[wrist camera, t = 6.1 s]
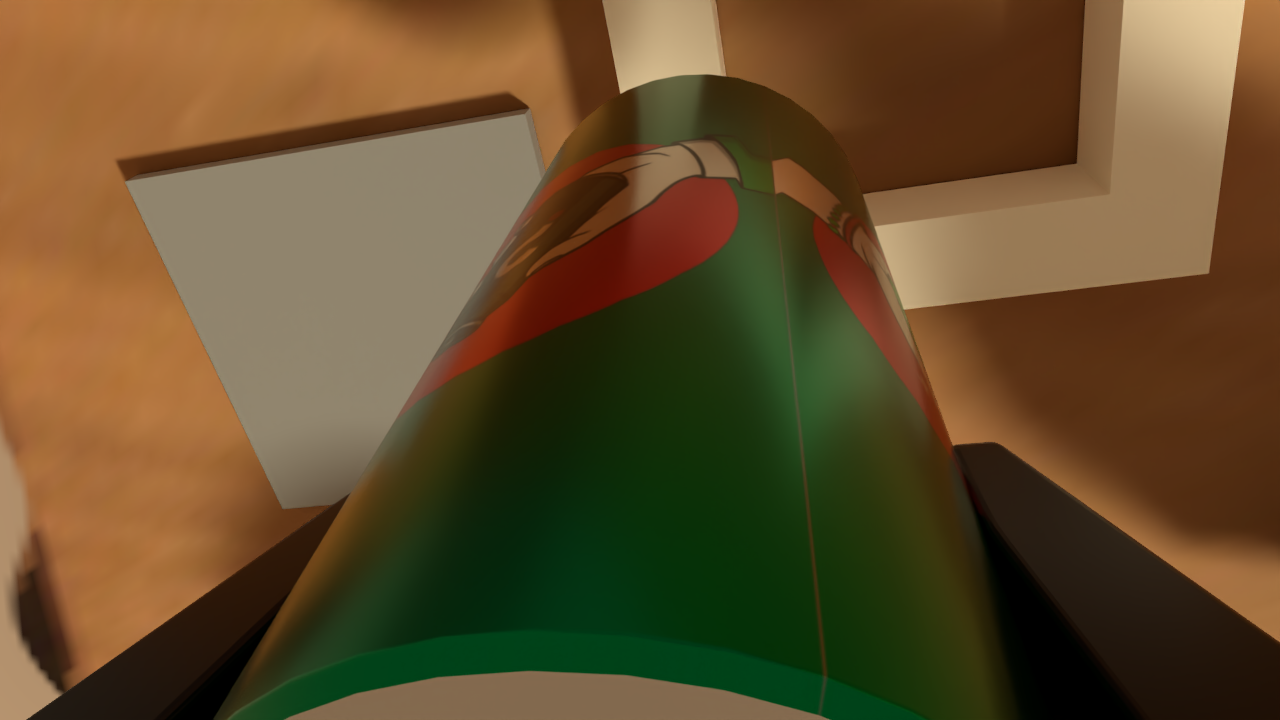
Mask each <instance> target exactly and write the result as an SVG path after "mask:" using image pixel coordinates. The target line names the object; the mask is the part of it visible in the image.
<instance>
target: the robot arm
mask: <svg viewBox="0 0 1280 720" xmlns="http://www.w3.org/2000/svg"><path fill="white" fill-rule="evenodd" d="M953 448H954V450H955V453H956V456H957V459H958V462H959V464H960V467H961V470H962V473H963V476H964V478H965V481H966V484H967V487H968V490H969V492H970V495H971V498H972V501H973V503H974V506H975V509H976V512H977V515H978V517H979V520H980V523H981V526H982V529H983V531H984V534H985V537H986V540H987V542H988V545H989V548H990V551H991V554H992V556H993V559H994V562H995V565H996V568H997V570H998V573H999V576H1000V579H1001V582H1002V584H1003V587H1004V590H1005V593H1006V595H1007V598H1008V601H1009V604H1010V607H1011V609H1012V612H1013V615H1014V618H1015V621H1016V623H1017V626H1018V629H1019V632H1020V634H1021V637H1022V640H1023V643H1024V646H1025V648H1026V651H1027V654H1028V657H1029V660H1030V662H1031V665H1032V668H1033V671H1034V674H1035V676H1036V679H1037V682H1038V685H1039V687H1040V690H1041V693H1042V696H1043V699H1044V701H1045V704H1046V707H1047V710H1048V713H1049V715H1050V718H1051V720H1280V642H1278V641H1277V640H1276V639H1274V638H1273V637H1271V636H1270V635H1269V634H1267V633H1266V632H1264V631H1263V630H1261V629H1260V628H1259V627H1257V626H1256V625H1254V624H1253V623H1252V622H1250V621H1249V620H1247V619H1246V618H1245V617H1243V616H1242V615H1240V614H1239V613H1238V612H1236V611H1235V610H1233V609H1232V608H1230V607H1229V606H1228V605H1226V604H1225V603H1223V602H1222V601H1221V600H1219V599H1218V598H1216V597H1215V596H1214V595H1212V594H1211V593H1209V592H1208V591H1206V590H1205V589H1204V588H1202V587H1201V586H1199V585H1198V584H1197V583H1195V582H1194V581H1192V580H1191V579H1190V578H1188V577H1187V576H1185V575H1184V574H1183V573H1181V572H1180V571H1178V570H1177V569H1175V568H1174V567H1173V566H1171V565H1170V564H1168V563H1167V562H1166V561H1164V560H1163V559H1161V558H1160V557H1159V556H1157V555H1156V554H1154V553H1153V552H1151V551H1150V550H1149V549H1147V548H1146V547H1144V546H1143V545H1142V544H1140V543H1139V542H1137V541H1136V540H1135V539H1133V538H1132V537H1130V536H1129V535H1128V534H1126V533H1125V532H1123V531H1122V530H1120V529H1119V528H1118V527H1116V526H1115V525H1113V524H1112V523H1111V522H1109V521H1108V520H1106V519H1105V518H1104V517H1102V516H1101V515H1099V514H1098V513H1097V512H1095V511H1094V510H1092V509H1091V508H1089V507H1088V506H1087V505H1085V504H1084V503H1082V502H1081V501H1080V500H1078V499H1077V498H1075V497H1074V496H1073V495H1071V494H1070V493H1068V492H1067V491H1065V490H1064V489H1063V488H1061V487H1060V486H1058V485H1057V484H1056V483H1054V482H1053V481H1051V480H1050V479H1049V478H1047V477H1046V476H1044V475H1043V474H1042V473H1040V472H1039V471H1037V470H1036V469H1034V468H1033V467H1032V466H1030V465H1029V464H1027V463H1026V462H1025V461H1023V460H1022V459H1020V458H1019V457H1018V456H1016V455H1015V454H1013V453H1012V452H1010V451H1009V450H1008V449H1006V448H1005V447H1003V446H1002V445H1000V444H998V443H995V442H984V443H971V444H958V445H953ZM349 495H350V493H349V494H347V495H346V496H345V497H343V498H342V499H340V500H339V501H337V502H336V503H335V504H333V505H332V506H330V507H329V508H327V509H326V510H325V511H323V512H322V513H320V514H319V515H318V516H316V517H315V518H313V519H312V520H310V521H309V522H308V523H306V524H305V525H303V526H302V527H300V528H299V529H298V530H296V531H295V532H293V533H292V534H290V535H289V536H288V537H286V538H285V539H283V540H282V541H280V542H279V543H278V544H276V545H275V546H273V547H272V548H270V549H269V550H268V551H266V552H265V553H263V554H262V555H260V556H259V557H258V558H256V559H255V560H253V561H252V562H251V563H249V564H248V565H246V566H245V567H243V568H242V569H241V570H239V571H238V572H236V573H235V574H233V575H232V576H231V577H229V578H228V579H226V580H225V581H223V582H222V583H221V584H219V585H218V586H216V587H215V588H213V589H212V590H211V591H209V592H208V593H206V594H205V595H203V596H202V597H201V598H199V599H198V600H196V601H195V602H194V603H192V604H191V605H189V606H188V607H186V608H185V609H184V610H182V611H181V612H179V613H178V614H176V615H175V616H174V617H172V618H171V619H169V620H168V621H166V622H165V623H164V624H162V625H161V626H159V627H158V628H156V629H155V630H154V631H152V632H151V633H149V634H148V635H146V636H145V637H144V638H142V639H141V640H139V641H138V642H136V643H135V644H134V645H132V646H131V647H129V648H128V649H127V650H125V651H124V652H122V653H121V654H119V655H118V656H117V657H115V658H114V659H112V660H111V661H109V662H108V663H107V664H105V665H104V666H102V667H101V668H99V669H98V670H97V671H95V672H94V673H92V674H91V675H89V676H88V677H87V678H85V679H84V680H82V681H81V682H79V683H78V684H77V685H75V686H74V687H72V688H71V689H69V690H68V691H67V692H65V693H64V694H62V695H61V696H60V697H58V698H57V699H55V700H54V701H52V702H51V703H50V704H48V705H47V706H45V707H44V708H42V709H41V710H40V711H38V712H37V713H35V714H34V715H32V716H31V717H30V718H28V719H27V720H213V718H214V717H215V715H216V714H217V712H218V710H219V709H220V707H221V705H222V704H223V702H224V700H225V699H226V697H227V695H228V694H229V692H230V691H231V689H232V687H233V686H234V684H235V682H236V681H237V679H238V677H239V676H240V674H241V672H242V671H243V669H244V667H245V666H246V664H247V663H248V661H249V659H250V658H251V656H252V654H253V653H254V651H255V649H256V648H257V646H258V644H259V643H260V641H261V640H262V638H263V636H264V635H265V633H266V631H267V630H268V628H269V626H270V625H271V623H272V621H273V620H274V618H275V617H276V615H277V613H278V612H279V610H280V608H281V607H282V605H283V603H284V602H285V600H286V598H287V597H288V595H289V594H290V592H291V590H292V589H293V587H294V585H295V584H296V582H297V580H298V579H299V577H300V575H301V574H302V572H303V571H304V569H305V567H306V566H307V564H308V562H309V561H310V559H311V557H312V556H313V554H314V552H315V551H316V549H317V548H318V546H319V544H320V543H321V541H322V539H323V538H324V536H325V534H326V533H327V531H328V529H329V528H330V526H331V524H332V523H333V521H334V520H335V518H336V516H337V515H338V513H339V511H340V510H341V508H342V506H343V505H344V503H345V501H346V500H347V498H348V497H349Z"/></svg>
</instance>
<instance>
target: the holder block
mask: <svg viewBox="0 0 1280 720" xmlns="http://www.w3.org/2000/svg"><path fill="white" fill-rule="evenodd" d="M602 2H603V7H604V12H605V17H606V22H607V27H608V32H609V38H610V43H611V48H612V53H613V58H614V63H615V68H616V74H617V79H618V84H619V89H620V94H621V93H623V92H625V91H627V90H629V89H632V88H634V87H637V86H640V85H642V84H645V83H648V82H651V81H653V80H658V79H664V78H669V77H674V76H679V75H702V74H711V75H718V76H726V71H725V64H724V56H723V49H722V42H721V35H720V27H719V20H718V13H717V5H716V0H602ZM1244 4H1245V0H1085V14H1084V34H1083V53H1082V73H1081V92H1080V112H1079V131H1078V151H1077V164H1071V165H1064V166H1057V167H1050V168H1042V169H1035V170H1028V171H1021V172H1014V173H1007V174H1000V175H993V176H986V177H979V178H972V179H965V180H958V181H951V182H944V183H937V184H930V185H923V186H916V187H909V188H902V189H895V190H888V191H881V192H874V193H867V194H863V197H864V200H865V202H866V205H867V208H868V211H869V214H870V216H871V219H872V222H873V225H874V227H875V230H876V233H877V236H878V239H879V241H880V244H881V247H882V250H883V253H884V255H885V258H886V261H887V264H888V266H889V269H890V272H891V275H892V278H893V280H894V283H895V286H896V289H897V292H898V294H899V297H900V300H901V303H902V306H903V308H904V310H905V309H914V308H922V307H930V306H939V305H947V304H956V303H964V302H973V301H981V300H989V299H998V298H1006V297H1015V296H1023V295H1032V294H1040V293H1049V292H1057V291H1065V290H1074V289H1082V288H1091V287H1099V286H1108V285H1116V284H1125V283H1133V282H1141V281H1150V280H1158V279H1167V278H1175V277H1184V276H1192V275H1201V274H1209V268H1210V261H1211V253H1212V245H1213V238H1214V230H1215V223H1216V215H1217V208H1218V200H1219V193H1220V185H1221V178H1222V170H1223V162H1224V155H1225V147H1226V140H1227V132H1228V125H1229V117H1230V110H1231V102H1232V95H1233V87H1234V80H1235V72H1236V64H1237V57H1238V49H1239V42H1240V34H1241V27H1242V19H1243V12H1244Z"/></svg>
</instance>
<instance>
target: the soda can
mask: <svg viewBox="0 0 1280 720" xmlns="http://www.w3.org/2000/svg"><path fill="white" fill-rule="evenodd" d="M213 720H1051V718H1050V715H1049V713H1048V710H1047V707H1046V704H1045V701H1044V699H1043V696H1042V693H1041V690H1040V687H1039V685H1038V682H1037V679H1036V676H1035V674H1034V671H1033V668H1032V665H1031V662H1030V660H1029V657H1028V654H1027V651H1026V648H1025V646H1024V643H1023V640H1022V637H1021V634H1020V632H1019V629H1018V626H1017V623H1016V621H1015V618H1014V615H1013V612H1012V609H1011V607H1010V604H1009V601H1008V598H1007V595H1006V593H1005V590H1004V587H1003V584H1002V582H1001V579H1000V576H999V573H998V570H997V568H996V565H995V562H994V559H993V556H992V554H991V551H990V548H989V545H988V542H987V540H986V537H985V534H984V531H983V529H982V526H981V523H980V520H979V517H978V515H977V512H976V509H975V506H974V503H973V501H972V498H971V495H970V492H969V490H968V487H967V484H966V481H965V478H964V476H963V473H962V470H961V467H960V464H959V462H958V459H957V456H956V453H955V450H954V448H953V445H952V442H951V439H950V437H949V434H948V431H947V428H946V425H945V423H944V420H943V417H942V414H941V411H940V409H939V406H938V403H937V400H936V398H935V395H934V392H933V389H932V386H931V384H930V381H929V378H928V375H927V372H926V370H925V367H924V364H923V361H922V358H921V356H920V353H919V350H918V347H917V345H916V342H915V339H914V336H913V333H912V331H911V328H910V325H909V322H908V319H907V317H906V314H905V311H904V308H903V306H902V303H901V300H900V297H899V294H898V292H897V289H896V286H895V283H894V280H893V278H892V275H891V272H890V269H889V266H888V264H887V261H886V258H885V255H884V253H883V250H882V247H881V244H880V241H879V239H878V236H877V233H876V230H875V227H874V225H873V222H872V219H871V216H870V214H869V211H868V208H867V205H866V202H865V200H864V197H863V194H862V191H861V188H860V186H859V183H858V180H857V178H856V176H855V173H854V171H853V169H852V167H851V165H850V163H849V161H848V158H847V156H846V155H845V153H844V152H843V150H842V149H841V148H840V146H839V145H838V143H837V142H836V140H835V139H834V137H833V136H832V135H831V133H830V132H829V131H828V130H827V129H826V128H825V127H824V126H823V125H822V124H821V123H820V122H819V121H818V120H817V119H816V118H815V117H814V116H813V115H812V114H810V113H809V112H808V111H806V110H805V109H803V108H802V107H801V106H799V105H798V104H796V103H795V102H794V101H792V100H791V99H789V98H787V97H785V96H783V95H781V94H779V93H777V92H775V91H773V90H771V89H769V88H767V87H765V86H762V85H759V84H756V83H752V82H749V81H746V80H742V79H739V78H733V77H726V76H718V75H711V74H702V75H679V76H674V77H669V78H664V79H658V80H653V81H651V82H648V83H645V84H642V85H640V86H637V87H634V88H632V89H629V90H627V91H625V92H623V93H621V94H620V95H618V96H616V97H614V98H613V99H611V100H609V101H607V102H605V103H604V104H602V105H601V106H600V107H599V108H598V109H596V110H595V111H594V112H593V113H591V114H590V115H589V116H588V117H586V118H585V119H584V120H583V121H582V122H581V123H580V124H579V125H578V127H577V128H576V129H575V130H574V131H573V132H572V133H571V134H570V136H569V137H568V138H567V139H566V140H565V142H564V143H563V145H562V147H561V148H560V150H559V152H558V153H557V155H556V156H555V158H554V160H553V161H552V163H551V165H550V166H549V168H548V169H547V171H546V173H545V174H544V176H543V178H542V179H541V181H540V183H539V184H538V186H537V188H536V189H535V191H534V192H533V194H532V196H531V197H530V199H529V201H528V202H527V204H526V206H525V207H524V209H523V211H522V212H521V214H520V215H519V217H518V219H517V220H516V222H515V224H514V225H513V227H512V229H511V230H510V232H509V234H508V235H507V237H506V238H505V240H504V242H503V243H502V245H501V247H500V248H499V250H498V252H497V253H496V255H495V257H494V258H493V260H492V261H491V263H490V265H489V266H488V268H487V270H486V271H485V273H484V275H483V276H482V278H481V280H480V281H479V283H478V285H477V286H476V288H475V289H474V291H473V293H472V294H471V296H470V298H469V299H468V301H467V303H466V304H465V306H464V308H463V309H462V311H461V312H460V314H459V316H458V317H457V319H456V321H455V322H454V324H453V326H452V327H451V329H450V331H449V332H448V334H447V335H446V337H445V339H444V340H443V342H442V344H441V345H440V347H439V349H438V350H437V352H436V354H435V355H434V357H433V358H432V360H431V362H430V363H429V365H428V367H427V368H426V370H425V372H424V373H423V375H422V377H421V378H420V380H419V381H418V383H417V385H416V386H415V388H414V390H413V391H412V393H411V395H410V396H409V398H408V400H407V401H406V403H405V405H404V406H403V408H402V409H401V411H400V413H399V414H398V416H397V418H396V419H395V421H394V423H393V424H392V426H391V428H390V429H389V431H388V432H387V434H386V436H385V437H384V439H383V441H382V442H381V444H380V446H379V447H378V449H377V451H376V452H375V454H374V455H373V457H372V459H371V460H370V462H369V464H368V465H367V467H366V469H365V470H364V472H363V474H362V475H361V477H360V478H359V480H358V482H357V483H356V485H355V487H354V488H353V490H352V492H351V493H350V495H349V497H348V498H347V500H346V501H345V503H344V505H343V506H342V508H341V510H340V511H339V513H338V515H337V516H336V518H335V520H334V521H333V523H332V524H331V526H330V528H329V529H328V531H327V533H326V534H325V536H324V538H323V539H322V541H321V543H320V544H319V546H318V548H317V549H316V551H315V552H314V554H313V556H312V557H311V559H310V561H309V562H308V564H307V566H306V567H305V569H304V571H303V572H302V574H301V575H300V577H299V579H298V580H297V582H296V584H295V585H294V587H293V589H292V590H291V592H290V594H289V595H288V597H287V598H286V600H285V602H284V603H283V605H282V607H281V608H280V610H279V612H278V613H277V615H276V617H275V618H274V620H273V621H272V623H271V625H270V626H269V628H268V630H267V631H266V633H265V635H264V636H263V638H262V640H261V641H260V643H259V644H258V646H257V648H256V649H255V651H254V653H253V654H252V656H251V658H250V659H249V661H248V663H247V664H246V666H245V667H244V669H243V671H242V672H241V674H240V676H239V677H238V679H237V681H236V682H235V684H234V686H233V687H232V689H231V691H230V692H229V694H228V695H227V697H226V699H225V700H224V702H223V704H222V705H221V707H220V709H219V710H218V712H217V714H216V715H215V717H214V718H213Z"/></svg>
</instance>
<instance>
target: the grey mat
mask: <svg viewBox="0 0 1280 720" xmlns="http://www.w3.org/2000/svg"><path fill="white" fill-rule="evenodd" d="M545 173H546V172H545V168H544V164H543V160H542V156H541V152H540V148H539V143H538V139H537V135H536V131H535V127H534V123H533V119H532V115H531V111H530V108H528V109H522V110H516V111H510V112H504V113H498V114H493V115H487V116H481V117H475V118H469V119H463V120H457V121H451V122H446V123H440V124H434V125H428V126H422V127H416V128H410V129H404V130H399V131H393V132H387V133H381V134H375V135H369V136H363V137H357V138H352V139H346V140H340V141H334V142H328V143H322V144H316V145H311V146H305V147H299V148H293V149H287V150H281V151H275V152H269V153H264V154H258V155H252V156H246V157H240V158H234V159H228V160H222V161H217V162H211V163H205V164H199V165H193V166H187V167H181V168H175V169H170V170H164V171H158V172H152V173H146V174H140V175H136V176H134V177H133V178H131V179H129V180H127V181H125V183H126V185H127V187H128V189H129V191H130V193H131V195H132V198H133V200H134V202H135V204H136V206H137V208H138V210H139V212H140V214H141V216H142V218H143V220H144V222H145V225H146V227H147V229H148V231H149V233H150V235H151V237H152V239H153V241H154V243H155V245H156V247H157V249H158V251H159V254H160V256H161V258H162V260H163V262H164V264H165V266H166V268H167V270H168V272H169V274H170V276H171V278H172V281H173V283H174V285H175V287H176V289H177V291H178V293H179V295H180V297H181V299H182V301H183V303H184V305H185V308H186V310H187V312H188V314H189V316H190V318H191V320H192V322H193V324H194V326H195V328H196V330H197V332H198V334H199V337H200V339H201V341H202V343H203V345H204V347H205V349H206V351H207V353H208V355H209V357H210V359H211V361H212V364H213V366H214V368H215V370H216V372H217V374H218V376H219V378H220V380H221V382H222V384H223V386H224V388H225V391H226V393H227V395H228V397H229V399H230V401H231V403H232V405H233V407H234V409H235V411H236V413H237V415H238V417H239V420H240V422H241V424H242V426H243V428H244V430H245V432H246V434H247V436H248V438H249V440H250V442H251V444H252V447H253V449H254V451H255V453H256V455H257V457H258V459H259V461H260V463H261V465H262V467H263V469H264V471H265V474H266V476H267V478H268V480H269V482H270V484H271V486H272V488H273V490H274V492H275V494H276V496H277V498H278V501H279V503H280V505H281V507H282V509H291V508H302V507H313V506H324V505H333V504H335V503H336V502H337V501H339V500H340V499H342V498H343V497H345V496H346V495H347V494H349V493H351V492H352V490H353V488H354V487H355V485H356V483H357V482H358V480H359V478H360V477H361V475H362V474H363V472H364V470H365V469H366V467H367V465H368V464H369V462H370V460H371V459H372V457H373V455H374V454H375V452H376V451H377V449H378V447H379V446H380V444H381V442H382V441H383V439H384V437H385V436H386V434H387V432H388V431H389V429H390V428H391V426H392V424H393V423H394V421H395V419H396V418H397V416H398V414H399V413H400V411H401V409H402V408H403V406H404V405H405V403H406V401H407V400H408V398H409V396H410V395H411V393H412V391H413V390H414V388H415V386H416V385H417V383H418V381H419V380H420V378H421V377H422V375H423V373H424V372H425V370H426V368H427V367H428V365H429V363H430V362H431V360H432V358H433V357H434V355H435V354H436V352H437V350H438V349H439V347H440V345H441V344H442V342H443V340H444V339H445V337H446V335H447V334H448V332H449V331H450V329H451V327H452V326H453V324H454V322H455V321H456V319H457V317H458V316H459V314H460V312H461V311H462V309H463V308H464V306H465V304H466V303H467V301H468V299H469V298H470V296H471V294H472V293H473V291H474V289H475V288H476V286H477V285H478V283H479V281H480V280H481V278H482V276H483V275H484V273H485V271H486V270H487V268H488V266H489V265H490V263H491V261H492V260H493V258H494V257H495V255H496V253H497V252H498V250H499V248H500V247H501V245H502V243H503V242H504V240H505V238H506V237H507V235H508V234H509V232H510V230H511V229H512V227H513V225H514V224H515V222H516V220H517V219H518V217H519V215H520V214H521V212H522V211H523V209H524V207H525V206H526V204H527V202H528V201H529V199H530V197H531V196H532V194H533V192H534V191H535V189H536V188H537V186H538V184H539V183H540V181H541V179H542V178H543V176H544V174H545Z"/></svg>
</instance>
